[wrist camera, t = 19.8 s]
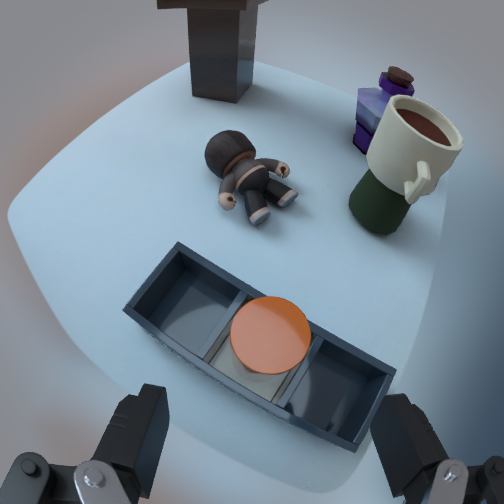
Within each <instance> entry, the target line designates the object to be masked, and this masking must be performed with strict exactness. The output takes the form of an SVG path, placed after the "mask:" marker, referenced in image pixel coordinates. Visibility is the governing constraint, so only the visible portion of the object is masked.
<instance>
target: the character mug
mask: <svg viewBox="0 0 504 504" xmlns="http://www.w3.org/2000/svg"><path fill="white" fill-rule="evenodd" d="M462 148H463V138H462V136H461V134H460V132H459V131H458V130H457V128H456V127H455V125H454V124H453V123H452V122H451V121H450V120H449V119H448V118H447V117H446V116H444V115H443V114H442V113H441V112H439V111H438V110H437V109H435V108H434V107H432V106H431V105H429V104H427V103H425V102H424V101H422V100H419V99H417V98H414V97H411V96H407V95H395V96H392V97H391V98H390V100H389V102H388V104H387V106H386V109H385V111H384V114H383V116H382V118H381V121H380V123H379V125H378V128H377V130H376V132H375V135H374V137H373V139H372V141H371V144H370V146H369V149H368V152H367V155H366V159H367V162H368V166H369V169H368V171H367V172H366V173H365V175H364V176H363V177H362V179H361V180H360V181H359V183H358V184H357V186H356V187H355V189H354V190H353V192H352V193H351V195H350V199H349V207H350V209H351V211H352V213H353V216H354V217H355V218H356V219H357V220H358V221H359V222H360V223H362V224H363V225H364V226H366V227H367V228H369V229H371V230H373V231H375V232H378V233H382V234H385V235H387V234H390V233H392V232H395V231H396V230H397V228H398V227H399V226H400V224H401V222H402V221H403V219H404V217H405V216H406V214H407V212H408V210H409V208H410V206H411V204H414V203H415V202H416V201H417V200H418V199H419V197H420V196H424V195H429V194H430V193H431V192H432V191H433V190H434V189H435V187H436V185H437V183H438V180H439V178H440V176H442V175H443V174H444V173H445V172H446V171H447V170H448V169H449V168H450V167H451V165H452V164H453V162H454V160H455V158H456V157H457V155H458V154H459V152H460V151H461V149H462Z"/></svg>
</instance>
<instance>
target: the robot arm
mask: <svg viewBox="0 0 504 504" xmlns="http://www.w3.org/2000/svg"><path fill="white" fill-rule="evenodd" d="M169 419H170V416H169V408H168V400H167V393H166V388H165V387H161V386H155V385H150V384H144V385H143V386H142V388H141V390H140V393H139V395H138V396H135V395H130V394H129V395H128V396H126V397H125V398H124V399H123V400H122V401H120V402H119V404H118V406H117V408H116V410H115V412H114V415H113V416H112V418H111V420H110V423H109V424H108V426H107V428H106V430H105V432H104V434H103V436H102V438H101V441H100V443H99V445H98V447H97V449H96V451H95V453H94V455H93V457H92V458H91V459H90V460H89V461H85V462H83V463H81V464H80V465H79V466H63V465H55V464H48V463H47V461H46V460H45V459H44V458H43V457H42V456H41V455H39V454H37V453H33V452H26V453H23V454H21V455H19V456H18V457H17V458H16V459H15V461H14V463H13V465H12V466H11V468H10V470H9V472H8V474H7V476H6V478H5V480H4V482H3V484H2V487H1V489H0V504H138V500H139V497H143V498H146V499H149V496H150V492H151V488H152V485H153V481H154V477H155V473H156V470H157V466H158V463H159V459H160V456H161V452H162V449H163V445H164V441H165V438H166V435H167V431H168V427H169ZM370 431H371V436H372V438H373V441H374V444H375V447H376V449H377V452H378V454H379V458H380V460H381V463H382V466H383V469H384V472H385V474H386V477H387V480H388V483H389V486H390V489H391V492H392V495H393V497H394V498H395V497H398V496H402V495H404V496H405V500H404V501H403V503H402V504H480V503H481V502H482V501H483V500H484V499H486V502H487V504H504V458H503V457H500V456H492V457H490V458H489V459H488V460H487V461H486V462H485V463H484V464H483V465H480V466H468V467H466V465H465V464H464V463H463V462H461V461H460V460H457V459H450V458H449V457H448V455H447V453H446V451H445V450H444V448H443V446H442V444H441V442H440V440H439V439H438V437H437V435H436V433H435V431H433V428H432V426H431V424H430V423H429V421H428V419H427V417H426V415H425V414H424V412H423V411H422V410H420V408H418V407H417V406H416V405H415V404H412V405H411V403H410V401H409V399H408V397H407V396H406V395H405V394H403V393H401V394H393V395H386V396H384V398H383V399H382V402H381V404H380V406H379V408H378V410H377V412H376V414H375V416H374V417H373V419H372V422H371V427H370Z"/></svg>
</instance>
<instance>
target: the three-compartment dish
mask: <svg viewBox="0 0 504 504" xmlns="http://www.w3.org/2000/svg"><path fill="white" fill-rule="evenodd" d="M260 297H268V296H266V295H265V294H263V293H261V292H260V291H258V290H256V289H255V288H253V287H251V286H250V285H248V284H246V283H245V282H243V281H241V280H240V279H238V278H236V277H235V276H233V275H231V274H230V273H228V272H227V271H225V270H223V269H222V268H220V267H218V266H217V265H215V264H214V263H212V262H210V261H209V260H207V259H205V258H204V257H202V256H201V255H199V254H197V253H196V252H194V251H193V250H191V249H189V248H188V247H186V246H185V245H183V244H182V243H180V242H177V243H176V244H175V245H174V247H173V248H172V249H171V250H170V251H169V252H168V254H167V255H166V256H165V257H164V258H163V260H162V261H161V262H160V263H159V264H158V266H157V267H156V268H155V269H154V271H153V272H152V273H151V274H150V275H149V277H148V278H147V279H146V280H145V282H144V283H143V284H142V285H141V287H140V288H139V289H138V290H137V292H136V293H135V294H134V295H133V297H132V298H131V299H130V301H129V302H128V304H126V306H125V307H124V308H123V311H124V312H125V313H126V314H127V315H128V316H129V317H130V318H132V319H133V320H134V321H135V322H136V323H137V324H139V325H140V326H141V327H142V328H144V329H145V330H146V331H147V332H149V333H150V334H151V335H153V336H154V337H155V338H156V339H158V340H159V341H160V342H162V343H163V344H164V345H166V346H167V347H168V348H170V349H171V350H172V351H174V352H175V353H177V354H178V355H179V356H181V357H182V358H184V359H185V360H186V361H188V362H189V363H191V364H192V365H194V366H195V367H197V368H198V369H199V370H201V371H202V372H204V373H205V374H207V375H208V376H210V377H211V378H213V379H215V380H216V381H218V382H219V383H221V384H222V385H224V386H225V387H227V388H229V389H230V390H232V391H233V392H235V393H237V394H238V395H240V396H242V397H243V398H245V399H247V400H248V401H250V402H252V403H254V404H255V405H257V406H259V407H260V408H262V409H264V410H266V411H268V412H269V413H271V414H273V415H275V416H277V417H279V418H280V419H282V420H284V421H286V422H288V423H290V424H292V425H294V426H296V427H298V428H300V429H302V430H304V431H306V432H308V433H310V434H312V435H314V436H316V437H318V438H320V439H322V440H325V441H327V442H329V443H331V444H333V445H336V446H338V447H341V448H343V449H346V450H348V451H351V452H354V453H355V452H356V451H357V449H358V447H359V445H360V444H361V442H362V440H363V439H364V437H365V435H366V433H367V431H368V429H369V428H370V426H371V422H372V419H373V417H374V416H375V414H376V412H377V410H378V408H379V406H380V404H381V402H382V399H383V398H384V396H385V395H386V393H387V391H388V389H389V387H390V384H391V382H392V380H393V377H394V375H395V373H396V371H397V370H396V369H395V368H393V367H391V366H389V365H387V364H386V363H384V362H382V361H380V360H378V359H376V358H375V357H373V356H371V355H369V354H367V353H365V352H364V351H362V350H360V349H358V348H356V347H355V346H353V345H351V344H349V343H348V342H346V341H344V340H342V339H340V338H339V337H337V336H335V335H333V334H332V333H330V332H328V331H326V330H325V329H323V328H321V327H319V326H318V325H316V324H314V323H312V322H311V321H309V320H308V323H309V326H310V331H311V342H310V346H309V349H308V352H307V354H306V356H305V357H304V359H303V360H302V361H301V362H300V363H299V364H298V365H297V366H296V367H294V368H293V369H291V370H289V371H287V372H285V373H283V374H281V375H279V376H277V377H275V378H273V379H271V380H268V381H265V382H252V381H249V380H246V379H245V378H243V377H242V376H240V375H239V374H238V373H237V371H236V370H235V368H234V366H233V363H232V357H231V344H230V329H231V324H232V321H233V319H234V317H235V315H236V314H237V312H238V311H239V310H240V309H241V308H242V307H243V306H244V305H245V304H247V303H248V302H250V301H252V300H254V299H257V298H260Z"/></svg>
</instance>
